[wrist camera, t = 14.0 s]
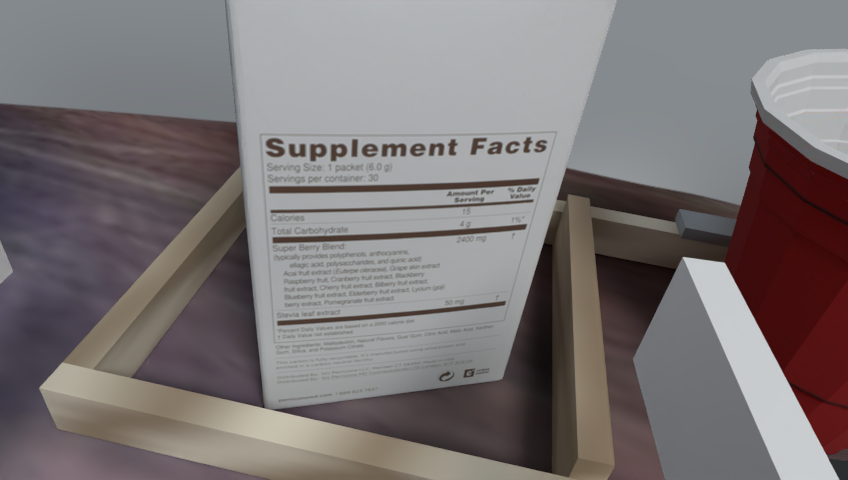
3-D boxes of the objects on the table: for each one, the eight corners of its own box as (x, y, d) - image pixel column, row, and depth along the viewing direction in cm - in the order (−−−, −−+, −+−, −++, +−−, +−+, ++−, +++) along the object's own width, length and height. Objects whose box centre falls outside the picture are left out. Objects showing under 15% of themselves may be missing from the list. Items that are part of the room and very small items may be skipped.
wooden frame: (57, 428, 18) (28, 365, 16) (265, 174, 31) (262, 123, 29) (1162, 691, 16) (1273, 650, 14) (885, 294, 29) (923, 246, 27)
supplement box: (255, 248, 26) (222, -148, 17) (446, 238, 28) (505, -118, 19) (257, 418, 19) (202, -98, 10) (509, 387, 21) (647, -60, 12)
